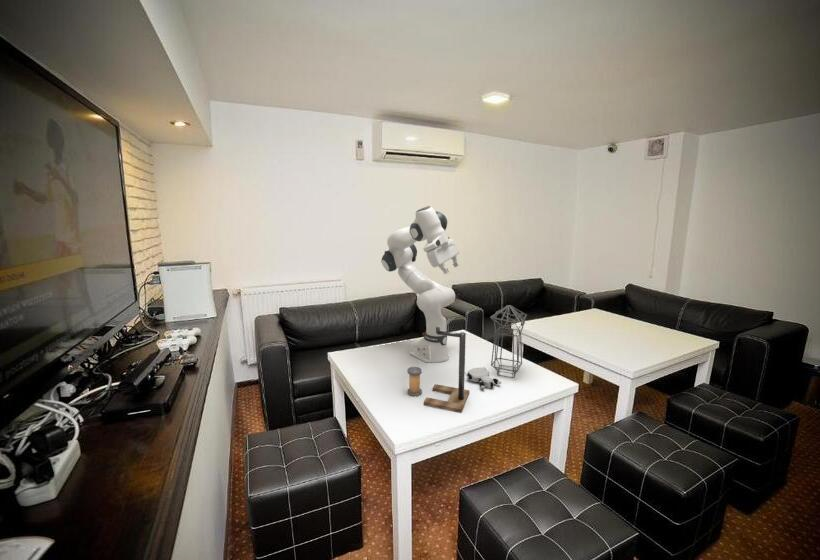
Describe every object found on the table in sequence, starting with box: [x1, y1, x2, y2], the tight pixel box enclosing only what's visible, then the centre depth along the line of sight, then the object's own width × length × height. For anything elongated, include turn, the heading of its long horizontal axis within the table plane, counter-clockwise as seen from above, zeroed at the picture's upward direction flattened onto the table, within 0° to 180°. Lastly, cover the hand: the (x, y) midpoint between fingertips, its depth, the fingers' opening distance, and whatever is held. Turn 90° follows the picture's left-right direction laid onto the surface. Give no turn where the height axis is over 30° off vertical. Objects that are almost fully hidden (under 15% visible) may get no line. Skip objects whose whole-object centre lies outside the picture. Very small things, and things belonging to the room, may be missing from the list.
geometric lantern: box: [489, 304, 528, 379], centre depth 164 cm, size 16×16×35 cm
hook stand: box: [436, 327, 467, 400], centre depth 140 cm, size 12×2×30 cm, turn 69°
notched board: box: [423, 383, 470, 414], centre depth 144 cm, size 16×16×2 cm
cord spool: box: [406, 366, 423, 397], centre depth 148 cm, size 6×6×11 cm
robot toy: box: [465, 366, 502, 389], centre depth 158 cm, size 12×4×15 cm
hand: (451, 269), depth 147 cm, fingers open, 8 cm apart
